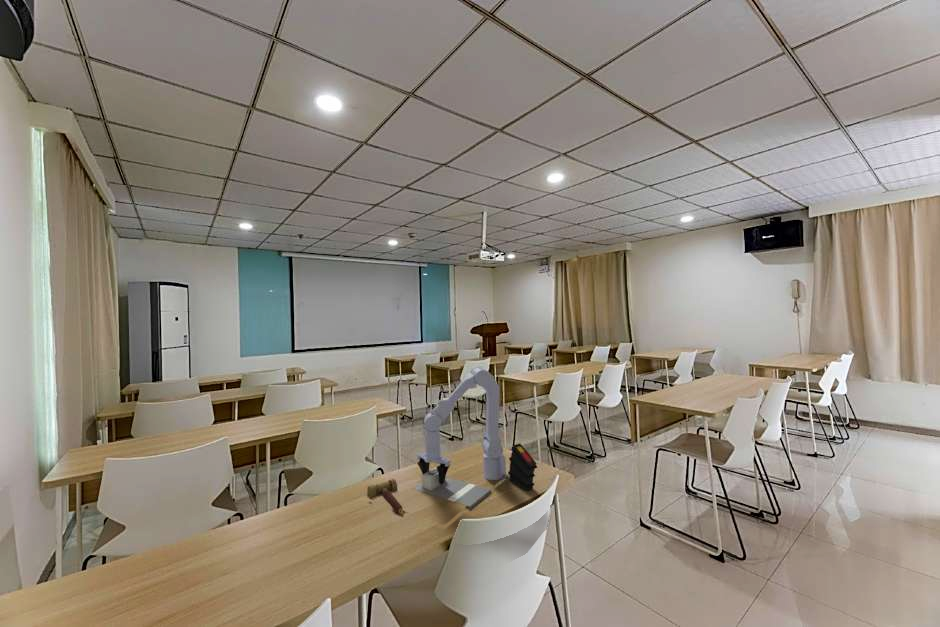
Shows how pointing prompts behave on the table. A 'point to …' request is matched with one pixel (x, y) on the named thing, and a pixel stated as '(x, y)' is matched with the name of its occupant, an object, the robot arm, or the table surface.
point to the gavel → (386, 493)
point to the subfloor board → (457, 492)
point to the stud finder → (431, 479)
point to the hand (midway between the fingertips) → (434, 481)
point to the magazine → (522, 468)
